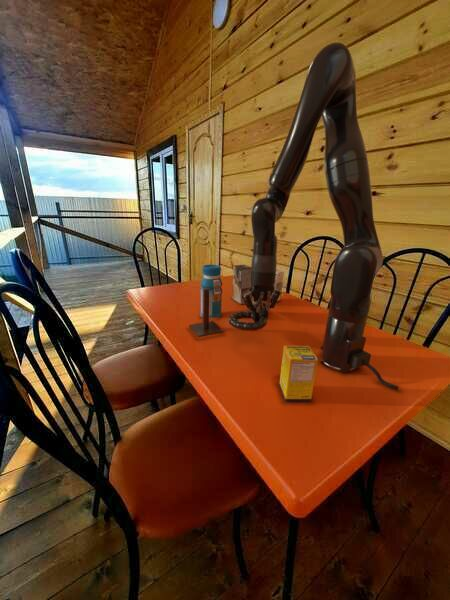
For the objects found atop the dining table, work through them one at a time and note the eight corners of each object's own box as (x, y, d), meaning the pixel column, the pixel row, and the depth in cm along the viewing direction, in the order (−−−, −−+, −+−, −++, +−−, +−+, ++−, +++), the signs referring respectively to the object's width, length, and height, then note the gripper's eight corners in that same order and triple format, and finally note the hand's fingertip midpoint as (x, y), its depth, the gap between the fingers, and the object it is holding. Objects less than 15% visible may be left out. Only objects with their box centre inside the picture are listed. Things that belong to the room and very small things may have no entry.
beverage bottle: (198, 320, 96) (198, 268, 90) (201, 311, 104) (201, 263, 98) (220, 321, 96) (222, 269, 89) (221, 312, 104) (223, 264, 97)
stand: (223, 335, 85) (224, 291, 80) (198, 340, 81) (198, 294, 76) (212, 324, 93) (213, 283, 88) (189, 328, 89) (188, 286, 84)
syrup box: (270, 297, 125) (273, 268, 120) (280, 300, 121) (284, 270, 116) (263, 300, 121) (266, 270, 116) (274, 303, 117) (278, 272, 112)
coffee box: (252, 302, 117) (255, 268, 111) (240, 304, 114) (242, 269, 109) (243, 296, 124) (245, 264, 119) (231, 298, 122) (232, 265, 116)
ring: (274, 327, 78) (274, 320, 77) (241, 334, 73) (241, 327, 72) (253, 314, 88) (253, 308, 87) (222, 320, 83) (222, 313, 82)
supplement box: (302, 384, 62) (309, 345, 58) (311, 402, 56) (319, 359, 53) (278, 384, 62) (283, 344, 58) (284, 402, 56) (290, 359, 52)
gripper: (250, 273, 71) (247, 329, 76) (289, 269, 77) (284, 322, 82) (237, 268, 77) (235, 320, 83) (274, 265, 83) (270, 314, 89)
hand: (260, 321), depth 82 cm, fingers closed on ring, 2 cm apart
